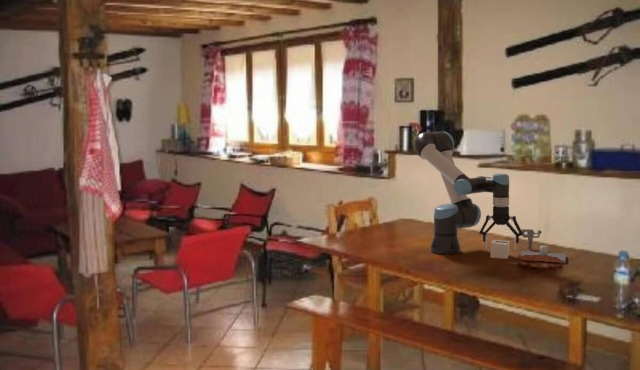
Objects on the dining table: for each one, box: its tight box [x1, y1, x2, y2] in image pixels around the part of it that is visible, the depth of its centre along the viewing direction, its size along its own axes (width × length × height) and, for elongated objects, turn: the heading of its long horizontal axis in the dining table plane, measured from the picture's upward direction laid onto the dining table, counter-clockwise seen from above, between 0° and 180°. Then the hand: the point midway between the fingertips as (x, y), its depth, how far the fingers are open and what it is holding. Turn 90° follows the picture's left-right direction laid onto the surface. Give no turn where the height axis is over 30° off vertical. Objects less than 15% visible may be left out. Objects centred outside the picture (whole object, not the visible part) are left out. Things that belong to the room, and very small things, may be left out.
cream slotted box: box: [490, 239, 510, 259], centre depth 312 cm, size 8×8×7 cm
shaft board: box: [520, 245, 567, 265], centre depth 306 cm, size 20×14×6 cm
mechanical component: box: [521, 228, 542, 250], centre depth 326 cm, size 3×10×10 cm, turn 78°
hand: (500, 249), depth 312 cm, fingers open, 13 cm apart
